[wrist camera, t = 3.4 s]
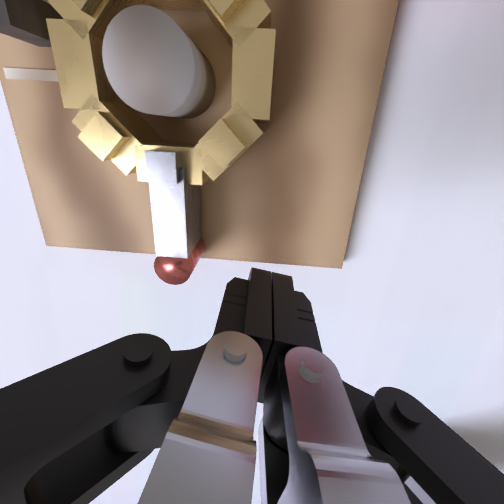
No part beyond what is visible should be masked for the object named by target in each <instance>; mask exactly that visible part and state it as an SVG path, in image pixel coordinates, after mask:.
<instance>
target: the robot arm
mask: <svg viewBox="0 0 504 504" xmlns="http://www.w3.org/2000/svg"><path fill="white" fill-rule="evenodd" d="M257 402H260V403H264V407H263V417H262V420H261V422H260V425H259V431H258V435H259V462H260V489H261V504H504V474H503V473H502V472H500V471H499V470H498V469H497V468H496V467H495V466H494V465H492V464H491V463H490V462H489V461H488V460H487V459H485V458H484V457H483V456H482V455H481V454H480V453H478V452H477V451H476V450H475V449H474V448H473V447H472V446H470V445H469V444H468V443H467V442H466V441H465V440H463V439H462V438H461V437H460V436H459V435H458V434H456V433H455V432H454V431H453V430H452V429H451V428H450V427H448V426H447V425H446V424H445V423H444V422H443V421H441V420H440V419H439V418H438V417H437V416H436V415H434V414H433V413H432V412H431V411H430V410H429V409H428V408H426V407H425V406H424V405H423V404H422V403H421V402H419V401H418V400H417V399H416V398H414V397H413V396H411V395H410V394H408V393H406V392H404V391H402V390H400V389H397V388H393V387H383V388H380V389H379V390H378V391H377V392H376V394H375V395H374V397H373V396H371V395H369V394H367V393H365V392H363V391H361V390H359V389H357V388H355V387H353V386H351V385H349V384H347V383H346V382H344V381H343V380H341V377H340V374H339V372H338V369H337V367H336V366H335V364H334V363H333V362H332V361H331V360H330V359H329V358H328V357H327V356H326V355H324V354H323V353H322V348H321V344H320V340H319V336H318V331H317V327H316V323H315V319H314V315H313V310H312V306H311V302H310V301H309V300H308V298H307V297H306V296H305V295H304V293H302V292H298V291H294V287H293V280H292V277H291V276H287V275H283V274H279V273H274V272H272V273H271V272H270V271H265V270H261V269H257V268H251V271H250V274H249V278H248V280H245V279H240V278H236V277H235V278H233V279H232V280H231V281H230V282H228V283H227V286H226V290H225V293H224V297H223V301H222V305H221V308H220V312H219V316H218V320H217V323H216V327H215V331H214V334H213V336H212V338H211V339H210V340H209V341H208V342H207V343H206V344H204V345H202V346H200V347H198V348H195V349H191V350H180V351H171V349H170V347H169V345H168V344H167V343H166V342H165V341H164V340H163V339H161V338H160V337H157V336H155V335H151V334H145V333H139V334H132V335H128V336H125V337H122V338H120V339H117V340H115V341H113V342H110V343H108V344H106V345H103V346H101V347H98V348H96V349H94V350H91V351H89V352H87V353H84V354H82V355H80V356H77V357H75V358H72V359H70V360H68V361H65V362H63V363H61V364H58V365H56V366H53V367H51V368H49V369H46V370H44V371H42V372H39V373H37V374H35V375H32V376H30V377H27V378H25V379H23V380H20V381H18V382H16V383H13V384H11V385H9V386H6V387H4V388H1V389H0V504H89V503H90V502H91V501H92V500H94V499H95V498H96V497H97V496H99V495H100V494H101V493H102V492H104V491H105V490H106V489H107V488H109V487H110V486H111V485H112V484H114V483H115V482H116V481H117V480H119V479H120V478H121V477H122V476H124V475H125V474H126V473H127V472H129V471H130V470H131V469H132V468H133V467H135V466H136V465H137V464H138V463H140V462H141V461H142V460H143V459H145V458H146V457H147V456H148V455H149V454H150V453H152V451H153V450H154V449H155V448H160V451H159V453H158V456H157V458H156V461H155V463H154V465H153V468H152V470H151V473H150V475H149V478H148V480H147V482H146V485H145V487H144V490H143V492H142V495H141V497H140V499H139V502H138V504H251V500H252V490H253V481H254V472H255V462H256V441H255V440H253V432H254V423H255V415H256V407H257Z"/></svg>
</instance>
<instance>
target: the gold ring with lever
mask: <svg viewBox="0 0 504 504" xmlns="http://www.w3.org/2000/svg"><path fill="white" fill-rule="evenodd" d="M48 2H49V3H50V4H51V5H52V6H53V8H54V9H55V10H56V11H57V12H58V13H59V14H60V15H61V16H62V17H63V18H64V19H48V18H46V22H47V27H48V32H49V37H50V42H51V47H52V52H53V57H54V62H55V66H56V71H57V76H58V81H59V86H60V91H61V96H62V101H63V106H64V108H69V109H78V110H79V112H78V113H77V115H76V116H75V117H74V119H73V120H72V123H73V124H74V125H75V126H76V127H77V128H79V129H80V130H81V131H82V132H81V133H80V134H79V136H78V138H79V139H80V140H81V141H82V142H83V143H84V144H85V145H86V146H87V147H88V148H89V149H90V150H91V151H92V152H93V153H94V154H95V155H97V156H98V157H99V158H100V159H101V160H102V161H106V160H111V161H112V162H113V163H114V164H115V165H116V166H117V167H118V168H119V169H120V170H121V171H122V172H123V173H124V174H126V175H130V174H133V173H136V172H137V177H138V181H147V182H149V190H150V200H151V210H152V220H153V230H154V240H155V250H156V256H157V258H156V259H155V262H154V269H155V272H156V274H157V275H158V277H159V278H160V279H161V280H163V281H164V282H166V283H169V284H173V285H177V284H182V283H184V282H185V281H187V280H188V278H189V277H190V275H191V273H192V271H193V270H194V268H195V266H196V264H197V262H198V261H199V259H200V257H201V255H202V253H203V252H204V249H205V243H204V240H203V238H202V210H201V185H203V184H204V183H206V182H207V181H208V180H209V179H212V180H213V181H214V180H215V179H216V178H217V177H219V176H220V175H221V174H222V173H223V172H224V171H225V170H226V169H227V168H228V167H229V166H230V165H231V164H232V163H234V162H235V161H236V160H237V159H238V158H239V157H240V156H241V155H242V154H243V153H244V152H245V151H246V150H247V149H248V148H249V147H250V146H251V145H252V144H253V143H254V142H255V141H256V140H257V139H258V138H259V137H261V136H262V135H263V134H264V133H265V132H264V131H263V130H262V129H261V127H260V126H259V125H258V124H257V122H256V121H266V122H270V110H271V96H272V83H273V69H274V55H275V37H276V29H271V10H270V9H269V7H268V6H267V4H266V3H265V1H264V0H48ZM135 5H147V6H151V7H155V8H157V9H169V10H191V11H206V13H207V14H208V15H209V17H210V18H211V19H212V21H213V22H214V23H215V25H216V26H217V27H218V28H219V30H220V31H221V32H222V34H223V35H224V36H225V38H226V39H227V40H228V41H229V43H230V44H231V45H232V47H233V49H232V98H231V109H230V110H229V111H228V112H227V113H226V114H225V115H224V116H223V117H222V118H220V119H219V120H218V121H217V122H216V123H215V124H214V126H213V127H212V128H211V129H210V130H209V131H208V132H207V133H206V134H205V135H204V136H203V137H202V138H201V139H200V140H199V141H198V144H187V143H171V142H164V141H163V140H162V139H161V138H160V137H159V136H158V135H157V134H156V133H155V132H154V131H153V130H152V128H151V127H150V126H149V125H148V124H147V123H146V122H145V121H144V120H143V119H142V118H141V117H140V116H139V115H138V113H137V112H136V111H135V110H134V109H133V108H132V107H130V106H129V105H127V104H126V103H125V102H124V101H123V100H122V99H121V98H120V97H119V96H118V95H117V94H116V92H115V91H114V89H113V88H112V86H111V84H110V82H109V80H108V78H107V75H106V72H105V69H104V64H103V57H102V46H103V39H104V35H105V32H106V30H107V27H108V25H109V24H110V22H111V20H112V19H113V18H114V17H115V16H116V15H117V14H118V13H119V12H120V11H122V10H123V9H125V8H128V7H130V6H135Z"/></svg>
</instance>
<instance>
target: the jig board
mask: <svg viewBox="0 0 504 504" xmlns="http://www.w3.org/2000/svg"><path fill="white" fill-rule="evenodd" d="M264 1H265V3H266V4H267V6H268V7H269V9H270V10H271V29H276V37H275V55H274V69H273V83H272V96H271V110H270V122H266V121H256V122H257V124H258V125H259V126H260V127H261V129H262V130H263V131H264V132H265V133H264V134H263V135H262V136H261V137H259V138H258V139H257V140H256V141H255V142H254V143H253V144H252V145H251V146H250V147H249V148H248V149H247V150H246V151H245V152H244V153H243V154H242V155H241V156H240V157H239V158H238V159H237V160H236V161H235V162H234V163H232V164H231V165H230V166H229V167H228V168H227V169H226V170H225V171H224V172H223V173H222V174H221V175H220V176H219V177H217V178H216V179H215V180H214V181H213V180H212V179H209V180H208V181H207V182H206V183H204V184H203V185H201V210H202V238H203V240H204V243H205V249H204V252H203V253H202V255H201V257H200V258H212V259H225V260H238V261H251V262H264V263H276V264H289V265H302V266H315V267H328V268H341V269H342V265H343V261H344V256H345V251H346V247H347V242H348V237H349V233H350V228H351V223H352V219H353V214H354V209H355V205H356V200H357V195H358V191H359V186H360V181H361V176H362V172H363V167H364V162H365V158H366V153H367V148H368V144H369V139H370V134H371V130H372V125H373V120H374V116H375V111H376V106H377V102H378V97H379V92H380V88H381V83H382V78H383V74H384V69H385V64H386V59H387V55H388V50H389V45H390V41H391V36H392V31H393V27H394V22H395V17H396V13H397V8H398V3H399V0H264ZM46 18H48V19H64V18H63V17H62V16H61V15H60V14H59V13H58V12H57V11H56V10H55V9H54V8H53V6H52V5H51V4H50V3H49V2H48V0H0V81H1V84H2V88H3V92H4V95H5V99H6V102H7V106H8V110H9V113H10V117H11V120H12V124H13V127H14V131H15V135H16V138H17V142H18V145H19V149H20V153H21V156H22V160H23V163H24V167H25V171H26V174H27V178H28V181H29V185H30V189H31V192H32V196H33V199H34V203H35V207H36V210H37V214H38V217H39V221H40V225H41V228H42V232H43V235H44V239H45V243H46V246H56V247H69V248H82V249H95V250H108V251H121V252H134V253H147V254H156V250H155V240H154V230H153V220H152V210H151V200H150V190H149V182H147V181H138V177H137V172H136V173H133V174H130V175H126V174H124V173H123V172H122V171H121V170H120V169H119V168H118V167H117V166H116V165H115V164H114V163H113V162H112V161H111V160H106V161H102V160H101V159H100V158H99V157H98V156H97V155H95V154H94V153H93V152H92V151H91V150H90V149H89V148H88V147H87V146H86V145H85V144H84V143H83V142H82V141H81V140H80V139H79V138H78V136H79V134H80V133H81V132H82V131H81V130H80V129H79V128H77V127H76V126H75V125H74V124H73V123H72V120H73V119H74V117H75V116H76V115H77V113H78V112H79V110H78V109H69V108H64V106H63V101H62V96H61V91H60V86H59V81H58V76H57V71H56V66H55V62H54V57H53V52H52V47H51V42H50V37H49V32H48V27H47V22H46ZM232 49H233V47H232V45H231V44H230V43H229V41H228V40H227V39H226V38H225V36H224V35H223V34H222V32H221V31H220V30H219V28H218V27H217V26H216V25H215V23H214V22H213V21H212V19H211V18H210V17H209V15H208V14H207V13H206V11H191V10H169V9H157V8H155V7H151V6H147V5H135V6H130V7H128V8H125V9H123V10H122V11H120V12H119V13H118V14H117V15H116V16H115V17H114V18H113V19H112V20H111V22H110V24H109V25H108V27H107V30H106V32H105V35H104V39H103V46H102V57H103V64H104V69H105V72H106V75H107V78H108V80H109V82H110V84H111V86H112V88H113V89H114V91H115V92H116V94H117V95H118V96H119V97H120V98H121V99H122V100H123V101H124V102H125V103H126V104H127V105H129V106H130V107H132V108H133V109H134V110H135V111H136V112H137V113H138V115H139V116H140V117H141V118H142V119H143V120H144V121H145V122H146V123H147V124H148V125H149V126H150V127H151V128H152V130H153V131H154V132H155V133H156V134H157V135H158V136H159V137H160V138H161V139H162V140H163V141H164V142H171V143H187V144H198V141H199V140H200V139H201V138H202V137H203V136H204V135H205V134H206V133H207V132H208V131H209V130H210V129H211V128H212V127H213V126H214V124H215V123H216V122H217V121H218V120H219V119H220V118H222V117H223V116H224V115H225V114H226V113H227V112H228V111H229V110H230V109H231V98H232Z"/></svg>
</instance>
